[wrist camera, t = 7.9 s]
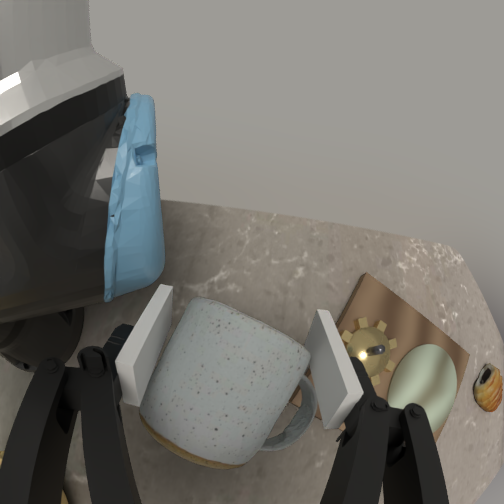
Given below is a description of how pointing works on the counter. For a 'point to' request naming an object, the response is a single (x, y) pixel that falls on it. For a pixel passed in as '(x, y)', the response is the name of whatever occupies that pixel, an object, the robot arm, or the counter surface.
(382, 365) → the gear
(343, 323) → the gear board
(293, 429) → the ceramic mug
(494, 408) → the pastry
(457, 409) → the counter surface
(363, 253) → the counter surface
